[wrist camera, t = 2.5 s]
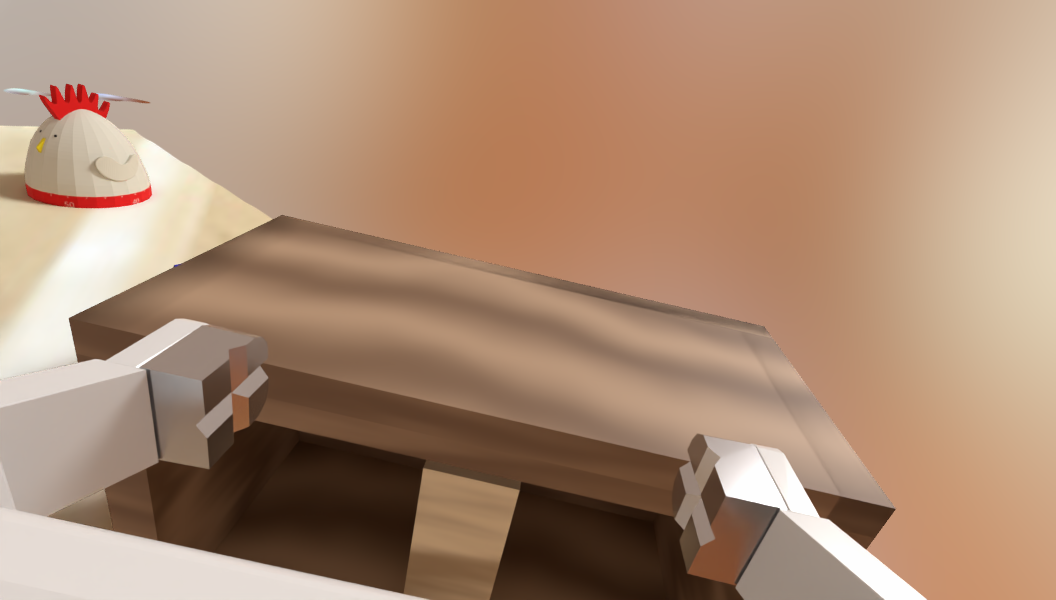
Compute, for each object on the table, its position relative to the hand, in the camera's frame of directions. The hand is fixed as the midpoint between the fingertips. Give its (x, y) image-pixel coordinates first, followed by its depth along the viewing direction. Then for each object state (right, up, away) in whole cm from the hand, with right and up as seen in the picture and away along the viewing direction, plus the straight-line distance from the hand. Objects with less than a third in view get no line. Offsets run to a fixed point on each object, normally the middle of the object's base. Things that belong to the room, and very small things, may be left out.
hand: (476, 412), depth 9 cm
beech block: (-3, -14, +20) cm, 24 cm away
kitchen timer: (-63, +18, +64) cm, 92 cm away
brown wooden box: (-4, -16, +23) cm, 28 cm away
